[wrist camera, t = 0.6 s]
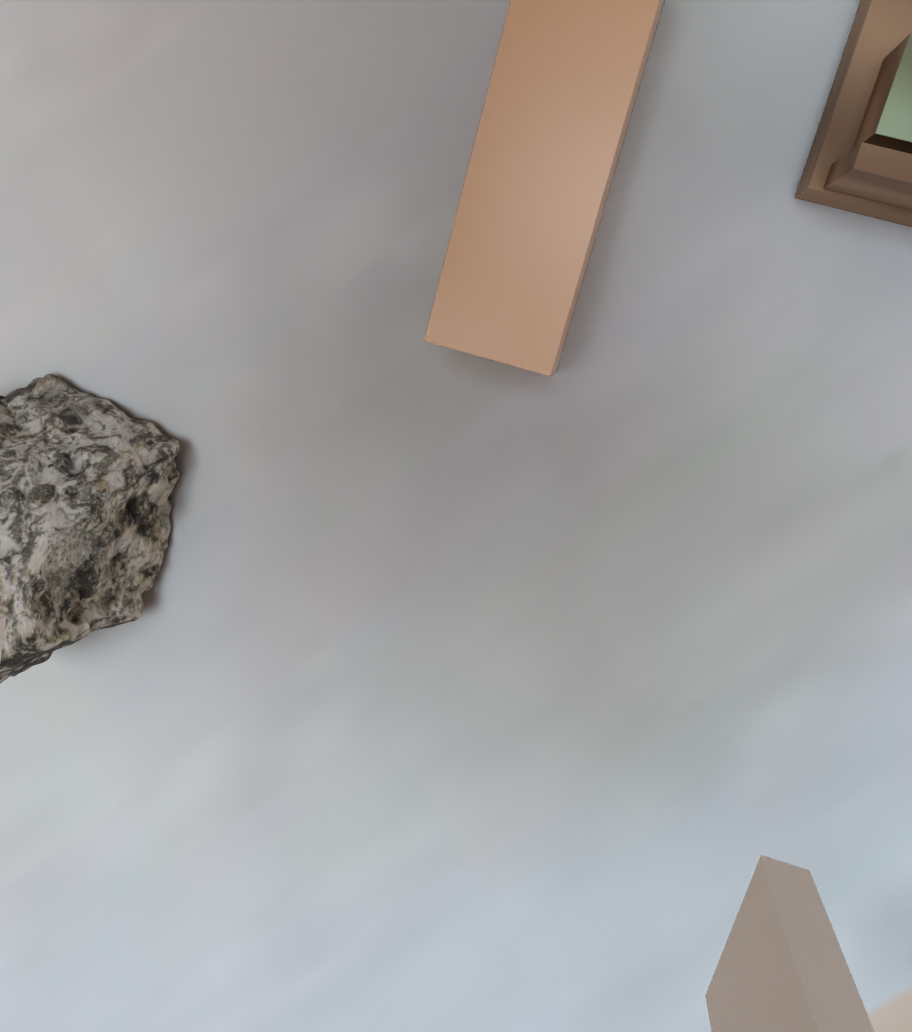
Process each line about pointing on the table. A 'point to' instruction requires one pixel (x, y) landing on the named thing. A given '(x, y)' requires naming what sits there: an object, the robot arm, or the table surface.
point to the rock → (76, 517)
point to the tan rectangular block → (540, 177)
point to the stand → (868, 120)
